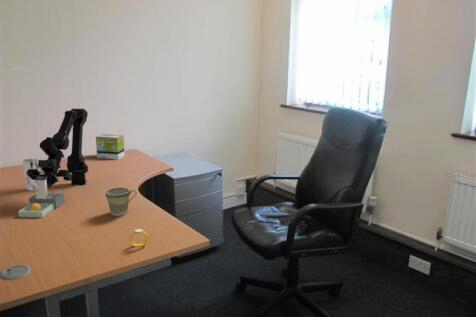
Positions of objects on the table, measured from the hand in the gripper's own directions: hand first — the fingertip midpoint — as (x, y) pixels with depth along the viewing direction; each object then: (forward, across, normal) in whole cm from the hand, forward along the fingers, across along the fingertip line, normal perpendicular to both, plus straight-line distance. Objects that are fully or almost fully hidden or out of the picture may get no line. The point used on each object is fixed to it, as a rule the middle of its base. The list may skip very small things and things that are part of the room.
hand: (44, 191), depth 186 cm
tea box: (-60, -4, +70) cm, 92 cm away
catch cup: (+10, 0, 0) cm, 10 cm away
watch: (+30, +53, -20) cm, 64 cm away
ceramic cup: (+8, +36, +2) cm, 37 cm away
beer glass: (-12, -19, +22) cm, 31 cm away
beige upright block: (+3, 0, +1) cm, 3 cm away
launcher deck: (+4, 0, +6) cm, 7 cm away
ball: (+9, 0, -2) cm, 9 cm away
